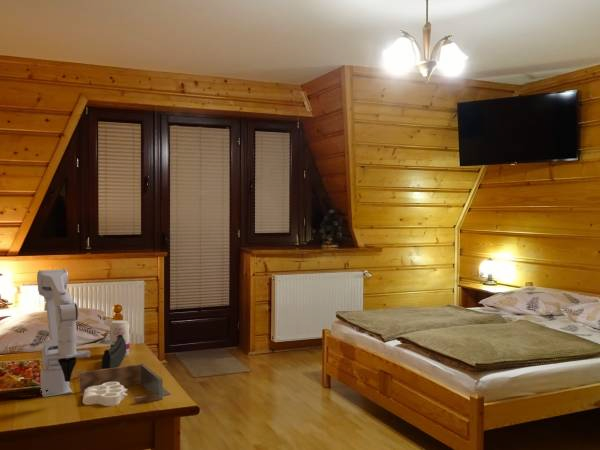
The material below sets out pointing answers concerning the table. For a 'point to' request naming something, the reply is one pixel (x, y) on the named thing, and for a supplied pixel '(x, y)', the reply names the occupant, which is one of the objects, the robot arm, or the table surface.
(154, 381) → the bookend
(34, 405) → the table surface
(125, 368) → the shelf wall
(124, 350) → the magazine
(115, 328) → the supplement can
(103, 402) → the white multi-hole holder
